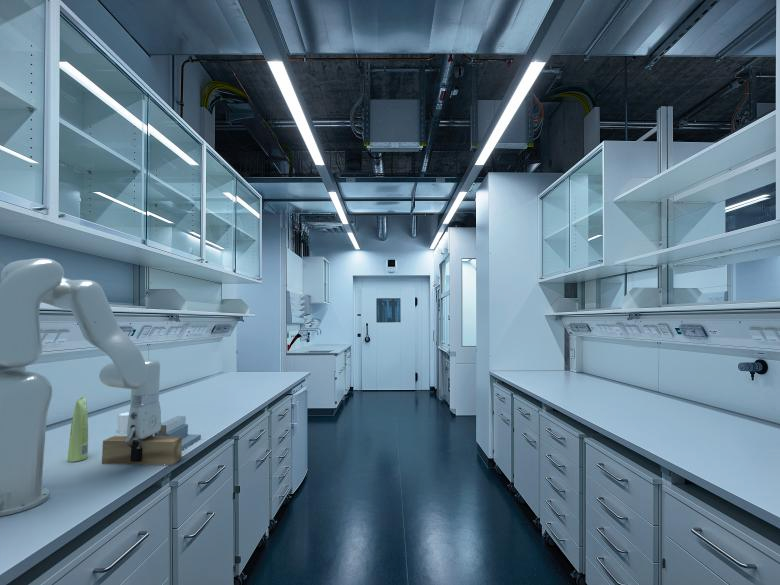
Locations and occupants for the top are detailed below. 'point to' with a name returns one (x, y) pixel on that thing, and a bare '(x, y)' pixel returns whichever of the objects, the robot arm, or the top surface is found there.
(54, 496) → the top surface
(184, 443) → the stand
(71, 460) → the tube
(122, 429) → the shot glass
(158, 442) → the walnut bar
